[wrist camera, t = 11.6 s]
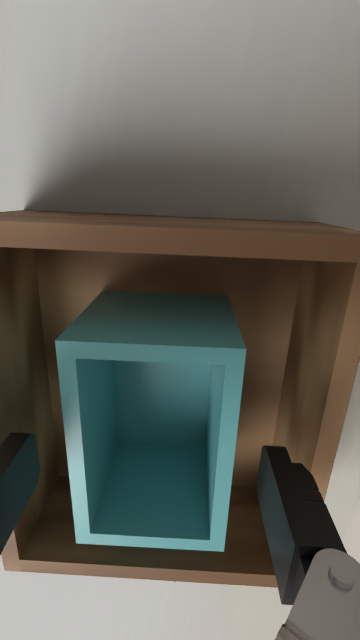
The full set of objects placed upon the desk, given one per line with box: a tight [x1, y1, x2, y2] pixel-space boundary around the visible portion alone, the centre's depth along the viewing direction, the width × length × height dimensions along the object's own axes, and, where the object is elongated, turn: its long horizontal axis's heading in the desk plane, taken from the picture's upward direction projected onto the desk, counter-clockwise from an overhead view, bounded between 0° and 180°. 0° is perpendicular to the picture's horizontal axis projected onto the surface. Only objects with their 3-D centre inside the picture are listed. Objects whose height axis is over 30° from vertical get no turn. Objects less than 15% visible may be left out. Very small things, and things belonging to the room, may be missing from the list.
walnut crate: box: [0, 210, 360, 587], centre depth 16 cm, size 16×14×6 cm
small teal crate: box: [55, 291, 246, 552], centre depth 15 cm, size 9×6×6 cm, turn 178°
